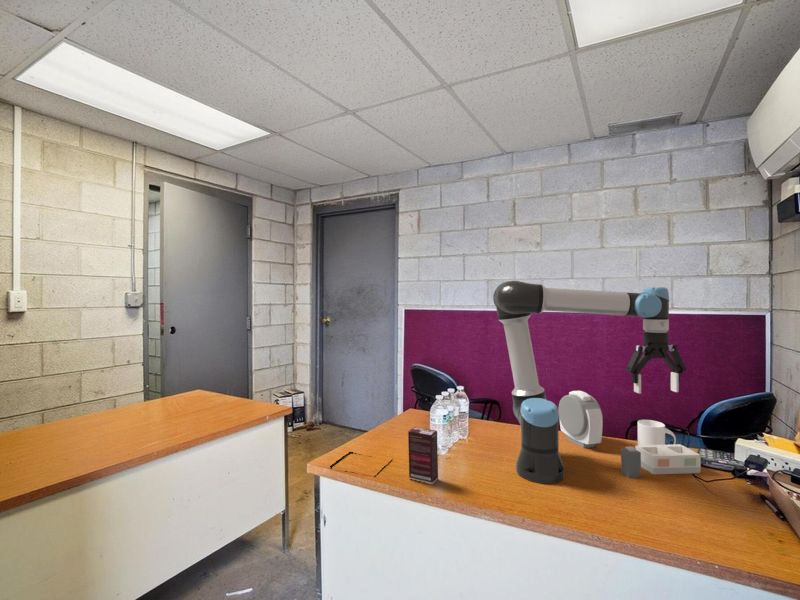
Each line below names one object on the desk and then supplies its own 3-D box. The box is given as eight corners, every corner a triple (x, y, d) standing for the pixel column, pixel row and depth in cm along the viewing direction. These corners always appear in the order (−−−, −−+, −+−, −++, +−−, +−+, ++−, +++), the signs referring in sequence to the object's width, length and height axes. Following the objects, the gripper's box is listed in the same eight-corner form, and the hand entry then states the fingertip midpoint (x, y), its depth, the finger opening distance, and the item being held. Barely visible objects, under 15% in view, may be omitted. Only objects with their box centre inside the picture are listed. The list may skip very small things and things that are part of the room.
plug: (628, 477, 126) (628, 450, 126) (621, 471, 130) (621, 445, 130) (640, 477, 126) (640, 450, 126) (633, 471, 130) (632, 445, 130)
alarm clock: (605, 449, 148) (605, 396, 148) (586, 452, 146) (586, 398, 146) (573, 433, 166) (573, 385, 165) (556, 435, 164) (555, 387, 163)
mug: (678, 459, 139) (678, 429, 139) (639, 454, 144) (639, 425, 143) (673, 450, 147) (673, 422, 146) (636, 446, 151) (636, 418, 151)
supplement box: (438, 479, 127) (438, 430, 127) (432, 485, 123) (432, 435, 122) (414, 473, 131) (414, 426, 131) (408, 479, 127) (407, 430, 127)
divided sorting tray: (653, 474, 128) (653, 456, 127) (635, 462, 137) (635, 445, 137) (701, 473, 128) (701, 455, 128) (680, 461, 137) (679, 444, 137)
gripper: (628, 333, 132) (628, 395, 133) (698, 331, 134) (698, 393, 134) (614, 331, 140) (615, 390, 140) (681, 329, 141) (681, 388, 142)
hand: (656, 392), depth 137 cm, fingers open, 13 cm apart
